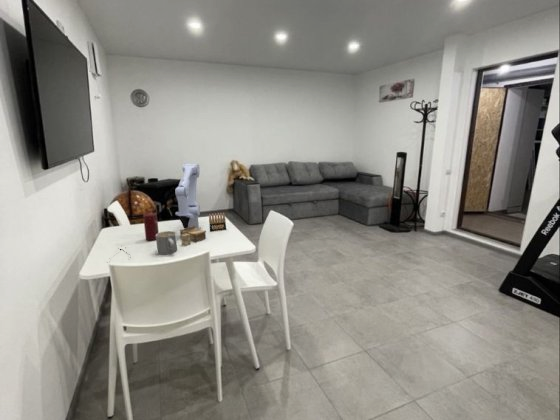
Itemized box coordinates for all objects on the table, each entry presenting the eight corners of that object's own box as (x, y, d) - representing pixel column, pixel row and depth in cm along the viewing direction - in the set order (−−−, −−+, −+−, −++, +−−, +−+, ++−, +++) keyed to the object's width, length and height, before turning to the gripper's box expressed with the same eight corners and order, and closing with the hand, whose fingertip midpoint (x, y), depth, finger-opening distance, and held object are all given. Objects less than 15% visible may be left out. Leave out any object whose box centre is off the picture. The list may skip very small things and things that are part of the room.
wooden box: (180, 238, 183) (179, 232, 182) (190, 234, 189) (189, 228, 188) (196, 242, 175) (195, 235, 174) (205, 238, 181) (205, 232, 180)
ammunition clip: (226, 229, 199) (224, 211, 196) (226, 229, 197) (225, 212, 194) (209, 230, 195) (208, 213, 192) (210, 231, 194) (208, 213, 191)
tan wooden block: (186, 243, 174) (185, 233, 173) (190, 244, 172) (189, 234, 171) (181, 245, 172) (180, 235, 170) (185, 246, 170) (184, 236, 168)
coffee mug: (156, 250, 164) (154, 233, 162) (174, 246, 169) (172, 229, 167) (161, 258, 153) (158, 240, 151) (180, 254, 158) (178, 236, 156)
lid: (180, 231, 182) (179, 227, 181) (190, 228, 188) (189, 224, 187) (196, 235, 174) (195, 231, 173) (206, 232, 180) (205, 228, 179)
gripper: (170, 206, 181) (172, 227, 185) (185, 209, 173) (188, 231, 177) (179, 204, 187) (182, 224, 190) (195, 206, 179) (197, 228, 182)
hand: (185, 227), depth 184 cm, fingers closed
